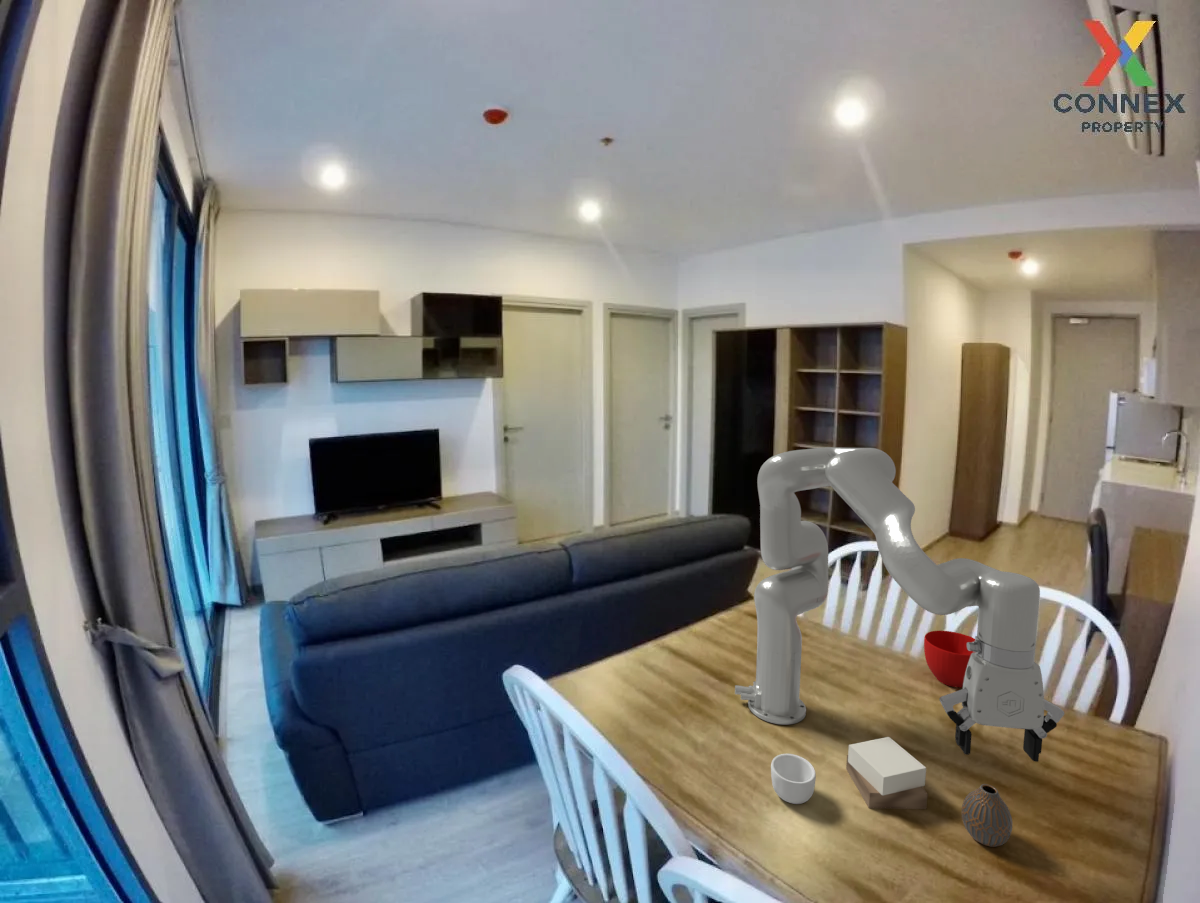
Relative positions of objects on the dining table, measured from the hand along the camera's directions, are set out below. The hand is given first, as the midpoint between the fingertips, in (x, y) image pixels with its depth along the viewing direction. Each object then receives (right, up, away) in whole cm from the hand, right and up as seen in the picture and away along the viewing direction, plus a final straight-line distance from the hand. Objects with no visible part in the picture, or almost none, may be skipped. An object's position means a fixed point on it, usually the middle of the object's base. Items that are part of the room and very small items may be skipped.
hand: (996, 752), depth 92 cm
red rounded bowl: (+25, -8, +51) cm, 58 cm away
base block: (-11, -14, +14) cm, 23 cm away
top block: (-11, -11, +13) cm, 21 cm away
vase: (0, -16, +3) cm, 16 cm away
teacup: (-29, -14, +13) cm, 35 cm away
